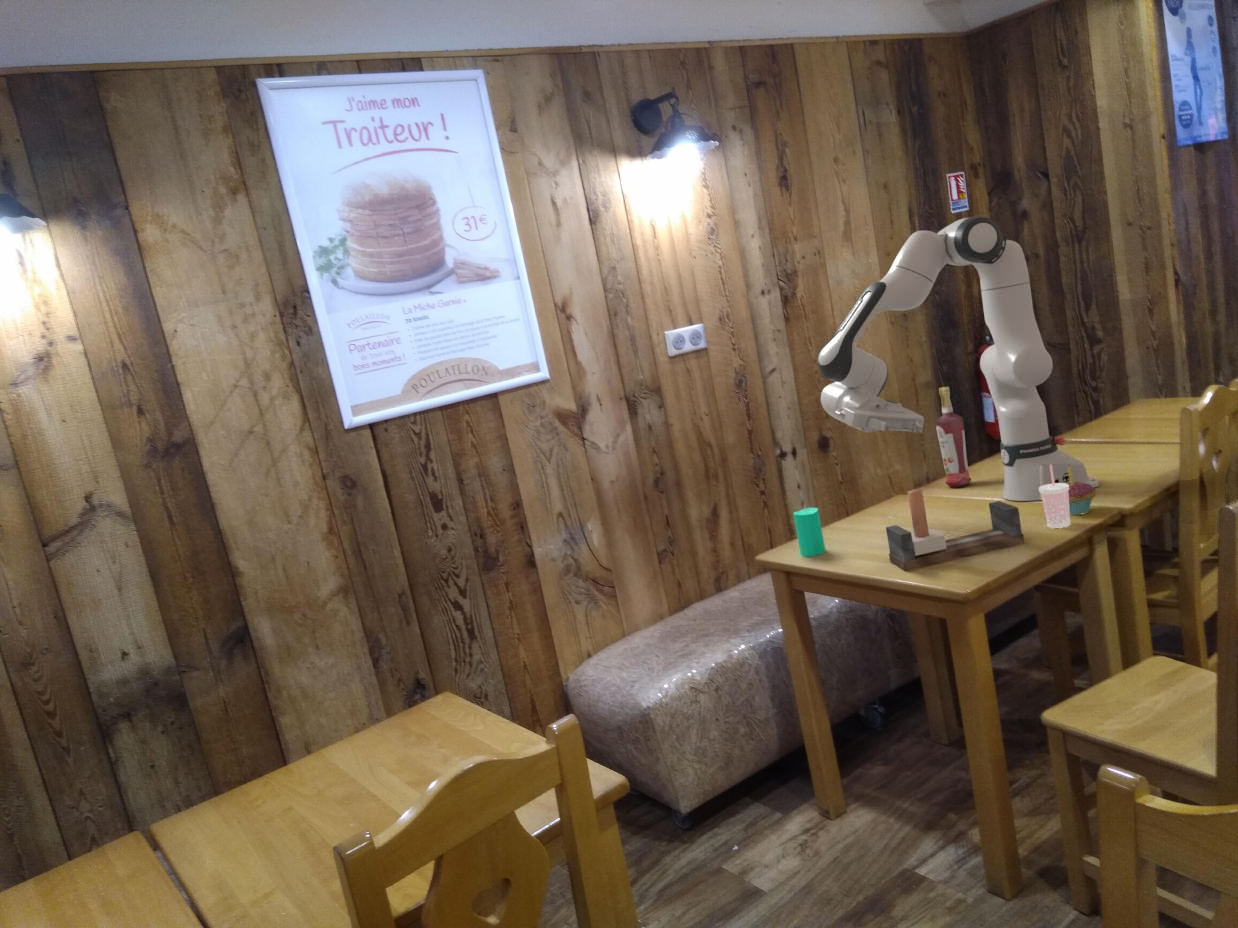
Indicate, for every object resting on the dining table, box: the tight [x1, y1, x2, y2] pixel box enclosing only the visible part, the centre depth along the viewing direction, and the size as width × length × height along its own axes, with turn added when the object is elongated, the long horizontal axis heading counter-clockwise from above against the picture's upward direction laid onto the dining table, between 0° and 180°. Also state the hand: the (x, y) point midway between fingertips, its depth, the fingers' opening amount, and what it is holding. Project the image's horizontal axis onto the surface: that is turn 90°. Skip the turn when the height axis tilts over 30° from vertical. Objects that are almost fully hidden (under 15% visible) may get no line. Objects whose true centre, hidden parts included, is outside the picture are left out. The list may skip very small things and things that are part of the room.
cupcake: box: [1066, 464, 1096, 514], centre depth 206 cm, size 9×8×12 cm
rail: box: [885, 500, 1025, 572], centre depth 196 cm, size 27×8×8 cm, turn 95°
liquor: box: [934, 386, 972, 489], centre depth 250 cm, size 7×7×28 cm
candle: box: [793, 504, 826, 557], centre depth 218 cm, size 6×6×12 cm
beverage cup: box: [1039, 464, 1071, 529], centre depth 199 cm, size 6×6×14 cm
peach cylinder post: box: [907, 488, 947, 556], centre depth 195 cm, size 7×7×13 cm
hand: (903, 428), depth 205 cm, fingers open, 8 cm apart
